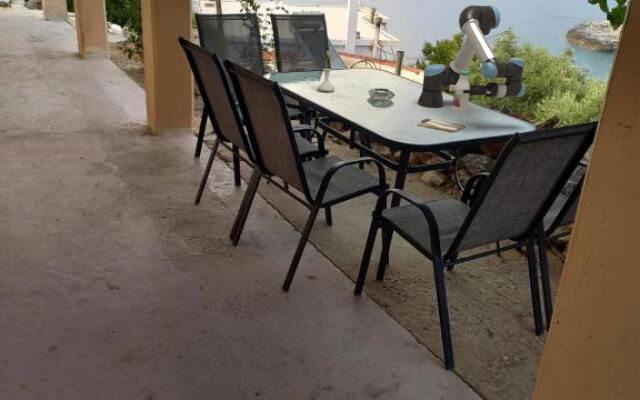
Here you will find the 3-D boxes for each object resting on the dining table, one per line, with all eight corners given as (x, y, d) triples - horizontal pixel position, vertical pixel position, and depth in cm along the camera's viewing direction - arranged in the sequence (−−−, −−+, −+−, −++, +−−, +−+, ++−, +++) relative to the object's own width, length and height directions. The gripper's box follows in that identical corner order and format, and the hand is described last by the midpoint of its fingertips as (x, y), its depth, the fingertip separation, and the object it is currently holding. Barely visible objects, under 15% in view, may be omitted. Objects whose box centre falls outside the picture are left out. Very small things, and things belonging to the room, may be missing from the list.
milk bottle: (464, 109, 303) (470, 70, 296) (469, 113, 296) (474, 73, 289) (449, 109, 303) (455, 69, 295) (453, 112, 296) (459, 72, 288)
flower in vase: (335, 93, 370) (337, 52, 361) (316, 92, 370) (318, 51, 361) (334, 89, 382) (337, 50, 373) (317, 88, 382) (319, 49, 373)
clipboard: (429, 120, 315) (430, 116, 314) (465, 126, 305) (466, 123, 304) (416, 125, 303) (417, 122, 302) (453, 132, 292) (454, 129, 292)
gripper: (503, 101, 291) (460, 101, 287) (484, 92, 310) (444, 92, 305) (506, 86, 289) (462, 86, 284) (486, 78, 307) (445, 78, 302)
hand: (453, 89), depth 294 cm, fingers closed on milk bottle, 7 cm apart
